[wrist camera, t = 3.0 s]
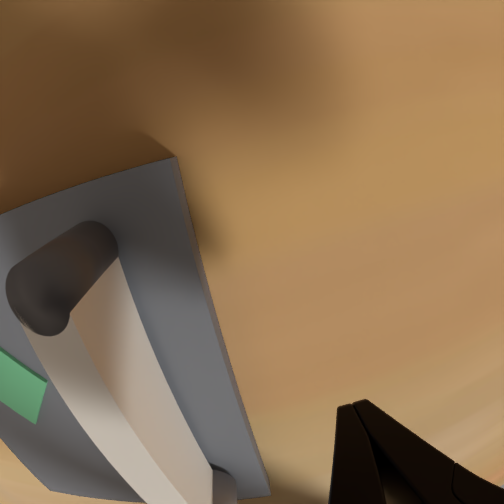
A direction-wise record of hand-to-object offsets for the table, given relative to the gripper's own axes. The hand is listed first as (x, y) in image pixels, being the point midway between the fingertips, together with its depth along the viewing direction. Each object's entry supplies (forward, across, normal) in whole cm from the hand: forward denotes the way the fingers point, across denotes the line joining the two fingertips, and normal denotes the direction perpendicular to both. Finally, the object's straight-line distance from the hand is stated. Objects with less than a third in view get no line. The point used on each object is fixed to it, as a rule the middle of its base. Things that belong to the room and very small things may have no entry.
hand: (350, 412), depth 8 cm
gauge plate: (+5, +12, +2) cm, 13 cm away
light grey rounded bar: (+3, +6, +2) cm, 7 cm away
